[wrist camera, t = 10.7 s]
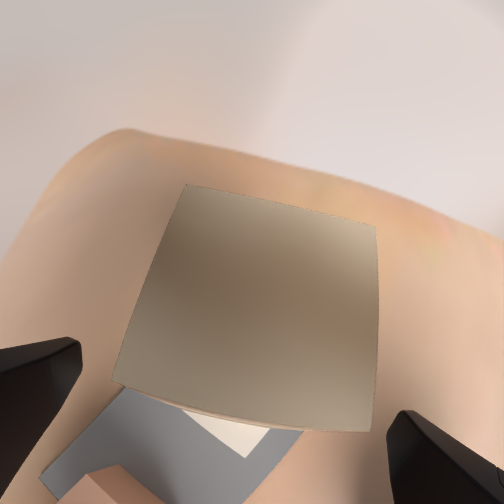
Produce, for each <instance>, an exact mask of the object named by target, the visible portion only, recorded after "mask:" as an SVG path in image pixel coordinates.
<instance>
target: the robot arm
mask: <svg viewBox="0 0 504 504" xmlns="http://www.w3.org/2000/svg"><path fill="white" fill-rule="evenodd" d="M82 367H83V363H82V349H81V344H80V342H79V341H78V340H75V339H73V338H71V337H63V338H58V339H53V340H48V341H42V342H37V343H32V344H27V345H21V346H16V347H10V348H5V349H0V499H1V497H2V495H3V494H4V492H5V490H6V489H7V487H8V486H9V484H10V483H11V481H12V479H13V478H14V476H15V475H16V473H17V472H18V470H19V469H20V467H21V466H22V464H23V463H24V461H25V459H26V458H27V457H28V455H29V454H30V452H31V451H32V449H33V448H34V446H35V445H36V443H37V442H38V440H39V439H40V437H41V436H42V435H43V433H44V432H45V430H46V429H47V428H48V426H49V425H50V423H51V422H52V420H53V419H54V418H55V416H56V415H57V413H58V412H59V410H60V409H61V407H62V405H63V404H64V402H65V400H66V398H67V396H68V395H69V393H70V391H71V389H72V388H73V386H74V384H75V382H76V381H77V379H78V377H79V375H80V374H81V371H82ZM386 441H387V450H388V461H389V474H390V482H391V488H392V493H393V499H394V504H504V471H503V470H502V469H500V468H498V467H496V466H495V465H494V464H492V463H491V462H489V461H488V460H486V459H484V458H483V457H481V456H480V455H478V454H477V453H475V452H474V451H472V450H471V449H469V448H468V447H466V446H465V445H463V444H462V443H460V442H459V441H457V440H456V439H454V438H453V437H451V436H450V435H448V434H447V433H446V432H444V431H443V430H441V429H440V428H438V427H437V426H435V425H434V424H432V423H431V422H430V421H428V420H427V419H425V418H424V417H422V416H421V415H420V414H418V413H417V412H415V411H413V410H402V411H400V412H399V413H398V414H397V416H396V418H395V419H394V421H393V423H392V424H391V426H390V428H389V429H388V431H387V435H386Z"/></svg>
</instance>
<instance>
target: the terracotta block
mask: <svg viewBox="0 0 504 504" xmlns="http://www.w3.org/2000/svg"><path fill="white" fill-rule="evenodd" d="M56 504H166V503H165V502H163V501H162V500H161V499H159V498H158V497H157V496H156V495H154V494H153V493H152V492H151V491H149V490H148V489H147V488H146V487H145V486H143V485H142V484H141V483H140V482H139V481H137V480H136V479H135V478H134V477H133V476H132V475H131V474H130V473H128V472H127V471H126V470H125V469H124V468H123V467H122V466H121V465H120V464H117V465H114V466H111V467H108V468H104V469H101V470H98V471H95V472H91V473H88V474H86V475H85V476H84V477H83V478H82V479H81V480H80V481H79V482H78V483H77V484H76V485H75V486H74V487H73V488H72V489H71V490H70V491H68V492H67V493H66V494H65V495H64V496H63V497H62V498H61V499H60V500H59V501H58V502H57V503H56Z"/></svg>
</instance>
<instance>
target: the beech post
mask: <svg viewBox="0 0 504 504" xmlns="http://www.w3.org/2000/svg"><path fill="white" fill-rule="evenodd" d="M378 320H379V289H378V257H377V239H376V227H375V226H372V225H368V224H364V223H360V222H356V221H353V220H349V219H345V218H341V217H337V216H333V215H329V214H325V213H320V212H316V211H312V210H308V209H304V208H299V207H295V206H290V205H286V204H282V203H277V202H273V201H268V200H263V199H259V198H254V197H249V196H244V195H239V194H235V193H230V192H224V191H219V190H214V189H209V188H204V187H198V186H193V185H187V184H186V186H185V188H184V190H183V192H182V195H181V197H180V199H179V201H178V203H177V206H176V208H175V210H174V212H173V214H172V217H171V219H170V221H169V223H168V226H167V228H166V230H165V233H164V235H163V237H162V240H161V242H160V244H159V247H158V249H157V252H156V254H155V257H154V259H153V261H152V264H151V266H150V269H149V271H148V274H147V277H146V279H145V282H144V284H143V287H142V290H141V292H140V295H139V298H138V300H137V303H136V306H135V308H134V311H133V314H132V317H131V320H130V322H129V325H128V328H127V331H126V334H125V337H124V340H123V343H122V346H121V349H120V352H119V355H118V358H117V362H116V365H115V368H114V371H113V375H112V378H111V380H112V381H114V382H116V383H118V384H121V385H123V386H125V387H127V388H130V389H132V390H134V391H136V392H139V393H141V394H144V395H146V396H148V397H151V398H153V399H156V400H158V401H161V402H163V403H166V404H169V405H171V406H174V407H177V408H180V409H182V410H185V411H189V412H193V413H197V414H201V415H205V416H209V417H213V418H218V419H222V420H227V421H232V422H237V423H242V424H247V425H253V426H258V427H264V428H272V429H284V430H298V431H321V432H362V431H370V429H371V422H372V413H373V404H374V394H375V383H376V369H377V352H378Z"/></svg>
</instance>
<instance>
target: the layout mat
mask: <svg viewBox="0 0 504 504" xmlns="http://www.w3.org/2000/svg"><path fill="white" fill-rule="evenodd" d="M302 432H303V431H298V430H284V429H272V428H264V427H258V426H253V425H247V424H242V423H237V422H232V421H227V420H222V419H218V418H213V417H209V416H205V415H201V414H197V413H193V412H189V411H185V410H182V409H180V408H177V407H174V406H171V405H169V404H166V403H163V402H161V401H158V400H156V399H153V398H151V397H148V396H146V395H144V394H141V393H139V392H136V391H134V390H132V389H130V388H127V387H125V388H124V389H123V390H122V392H121V393H120V394H119V395H118V396H117V397H116V398H115V399H114V400H113V401H112V402H111V403H110V404H109V405H108V406H107V407H106V408H105V409H104V410H103V411H102V412H101V413H100V414H99V415H98V416H97V418H96V419H95V420H94V421H93V422H92V423H91V424H90V425H89V426H88V427H87V428H86V429H85V430H84V431H83V432H82V433H81V434H80V435H79V436H78V437H77V438H76V439H75V440H74V441H73V442H72V443H71V445H70V446H69V447H68V448H67V449H66V450H65V451H64V452H63V453H62V454H61V455H60V456H59V457H58V458H57V459H56V460H55V461H54V462H53V463H52V464H51V465H50V466H49V467H48V468H47V469H46V470H45V471H44V472H43V474H42V475H41V476H40V477H39V479H40V480H41V481H42V483H43V484H44V485H45V486H46V487H47V489H48V490H49V491H50V492H51V493H52V494H53V495H54V496H55V497H56V499H57V500H58V501H59V500H60V499H61V498H62V497H63V496H64V495H65V494H66V493H67V492H68V491H70V490H71V489H72V488H73V487H74V486H75V485H76V484H77V483H78V482H79V481H80V480H81V479H82V478H83V477H84V476H85V475H86V474H88V473H91V472H95V471H98V470H101V469H104V468H108V467H111V466H114V465H117V464H120V465H121V466H122V467H123V468H124V469H125V470H126V471H127V472H128V473H130V474H131V475H132V476H133V477H134V478H135V479H136V480H137V481H139V482H140V483H141V484H142V485H143V486H145V487H146V488H147V489H148V490H149V491H151V492H152V493H153V494H154V495H156V496H157V497H158V498H159V499H161V500H162V501H163V502H165V503H166V504H242V503H243V502H244V501H245V500H246V499H247V498H248V497H249V496H250V495H251V494H252V493H253V492H254V490H255V489H256V488H257V487H258V486H259V485H260V484H261V483H262V482H263V480H264V479H265V478H266V477H267V476H268V475H269V474H270V472H271V471H272V470H273V469H274V468H275V466H276V465H277V464H278V463H279V462H280V460H281V459H282V458H283V457H284V456H285V454H286V453H287V452H288V451H289V449H290V448H291V447H292V446H293V444H294V443H295V442H296V440H297V439H298V438H299V436H300V435H301V434H302Z"/></svg>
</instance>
